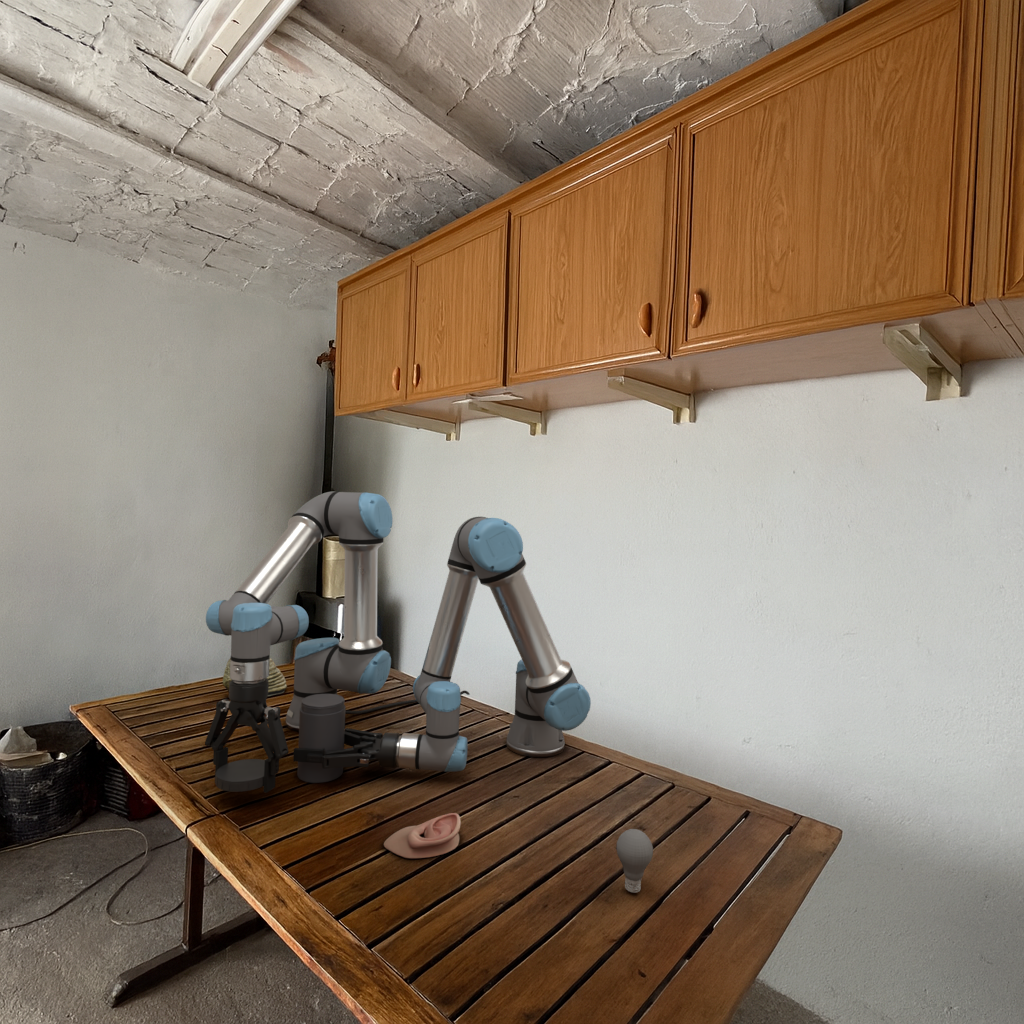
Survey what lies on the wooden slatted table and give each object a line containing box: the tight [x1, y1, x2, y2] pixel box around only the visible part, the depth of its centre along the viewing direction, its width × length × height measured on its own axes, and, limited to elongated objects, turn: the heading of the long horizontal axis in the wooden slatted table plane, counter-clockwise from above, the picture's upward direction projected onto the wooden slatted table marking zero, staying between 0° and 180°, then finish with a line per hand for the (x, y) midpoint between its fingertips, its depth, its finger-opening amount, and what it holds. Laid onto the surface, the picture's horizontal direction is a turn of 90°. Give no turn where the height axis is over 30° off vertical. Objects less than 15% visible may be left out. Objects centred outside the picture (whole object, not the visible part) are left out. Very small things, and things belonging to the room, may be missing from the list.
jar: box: [296, 694, 346, 784], centre depth 145 cm, size 10×10×17 cm
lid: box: [214, 758, 266, 793], centre depth 131 cm, size 11×11×2 cm
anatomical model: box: [383, 812, 462, 859], centre depth 117 cm, size 13×4×12 cm
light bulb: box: [615, 828, 654, 894], centre depth 106 cm, size 6×6×10 cm
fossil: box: [222, 656, 288, 697], centre depth 198 cm, size 9×18×15 cm, turn 132°
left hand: (244, 785), depth 131 cm, fingers closed on lid, 11 cm apart
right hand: (302, 745), depth 145 cm, fingers closed on jar, 10 cm apart
